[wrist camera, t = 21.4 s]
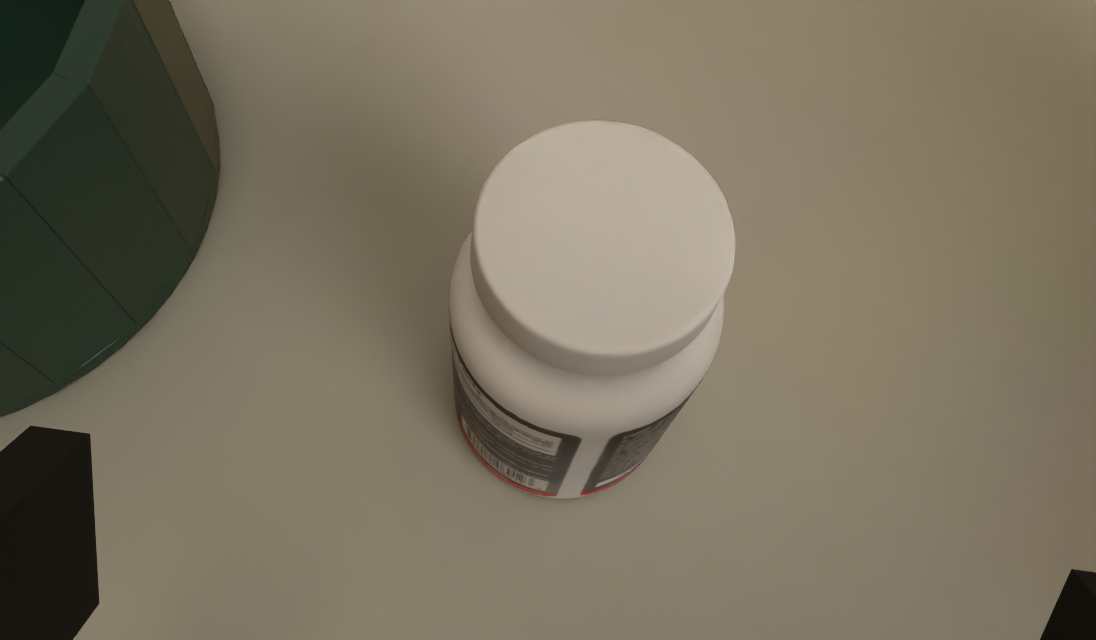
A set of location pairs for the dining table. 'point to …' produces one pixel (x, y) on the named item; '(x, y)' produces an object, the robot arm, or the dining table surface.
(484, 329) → the pill bottle
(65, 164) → the pot
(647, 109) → the dining table surface
